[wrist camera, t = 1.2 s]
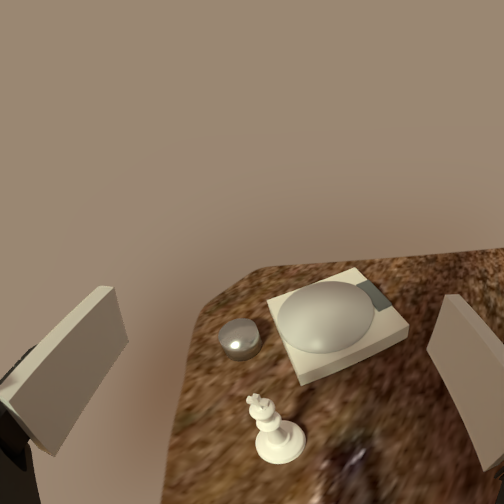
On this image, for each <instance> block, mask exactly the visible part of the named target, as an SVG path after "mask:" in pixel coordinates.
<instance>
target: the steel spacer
mask: <svg viewBox="0 0 504 504" xmlns="http://www.w3.org/2000/svg"><path fill="white" fill-rule="evenodd" d="M218 337H219V341H220V343H221V345H222V347H223V349H224V351H225V352H226V354H227V356H228V357H229V358H230V359H231V360H234V361H246V360H249V359H251V358H253V357H255V356H256V355H257V354H258V353H259V352H260V350H261V348H262V340H261V338H260V335H259V332H258V329H257V327H256V324H255V323H254V322H253V321H252V320H250V319H246V318H240V319H235V320H232V321H230V322H228V323H227V324H225V325H224V326H223V327H222V328H221V330H220V332H219V336H218Z"/></svg>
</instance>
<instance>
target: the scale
mask: <svg viewBox="0 0 504 504" xmlns="http://www.w3.org/2000/svg"><path fill="white" fill-rule="evenodd" d="M267 303H268V306H269V309H270V312H271V315H272V317H273V320H274V322H275V325H276V327H277V329H278V332H279V334H280V337H281V339H282V341H283V344H284V346H285V349H286V351H287V353H288V356H289V358H290V361H291V363H292V365H293V368H294V370H295V372H296V375H297V377H298V380H299V382H300V384H301V386H302V385H305V384H308V383H310V382H313V381H316V380H318V379H321V378H323V377H325V376H328V375H330V374H333V373H335V372H337V371H340V370H342V369H344V368H347V367H349V366H351V365H353V364H355V363H358V362H360V361H362V360H364V359H366V358H368V357H370V356H372V355H374V354H376V353H378V352H380V351H382V350H384V349H386V348H388V347H390V346H392V345H394V344H396V343H398V342H400V341H402V340H403V339H405V338H407V337H408V331H409V324H408V323H407V322H406V321H405V320H404V318H403V317H402V316H401V315H400V314H399V313H398V312H397V311H396V310H395V309H394V308H393V306H392V304H391V302H390V301H389V300H388V299H387V298H386V297H385V296H384V295H383V294H382V293H381V292H380V291H379V290H378V289H377V288H376V287H375V286H374V285H373V284H372V283H371V282H370V281H369V280H367V279H366V278H365V277H364V276H363V275H362V274H361V273H360V272H359V271H358V270H357V269H356V268H352V269H350V270H347V271H345V272H342V273H340V274H337V275H334V276H332V277H329V278H327V279H324V280H321V281H319V282H316V283H313V284H311V285H308V286H305V287H303V288H300V289H297V290H295V291H292V292H289V293H286V294H283V295H281V296H278V297H275V298H272V299H269V300H267Z"/></svg>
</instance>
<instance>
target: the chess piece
mask: <svg viewBox="0 0 504 504" xmlns="http://www.w3.org/2000/svg"><path fill="white" fill-rule="evenodd" d="M246 402H247V403H248V404H251V406H250V409H249V412H250V415H251V416H252V417H253V418H254V419H256V425H257V427H258V428H259V429H260V432H259V433H258V435H257V437H256V449H257V452H258V454H259V455H260V456H261V457H262V458H263V459H264V460H265V461H267V462H270V463H274V464H284V463H288V462H290V461H292V460H294V459H296V458H297V457H298V456H299V455H300V454H301V453H302V451H303V450H304V447H305V443H306V438H305V434H304V432H303V431H302V429H301V428H300V427H299V426H298V425H297V424H295V423H293V422H290V421H286V420H281V416H280V414H279V413H277V412H276V411H275V405H274V403H273V401H271V400H270V399H267V398H261V397H260V395H259V394H254V393H253V396H252V397H250V396H248V397H247V400H246Z"/></svg>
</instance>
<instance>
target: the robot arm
mask: <svg viewBox="0 0 504 504" xmlns="http://www.w3.org/2000/svg"><path fill="white" fill-rule="evenodd" d="M128 342H129V341H128V337H127V334H126V331H125V327H124V324H123V320H122V316H121V313H120V309H119V305H118V301H117V297H116V293H115V289H114V287H108V286H99V287H97V288H96V289H95V290H94V291H93V292H92V293H91V294H90V295H89V296H87V297H86V298H85V299H84V300H83V301H82V302H81V303H80V304H79V305H78V306H77V307H76V308H75V309H73V310H72V311H71V312H70V313H69V314H68V315H67V316H66V317H65V318H64V319H63V320H62V321H61V322H60V323H59V324H58V325H57V326H56V327H55V328H54V329H53V330H52V331H51V332H50V333H49V334H48V335H47V336H46V337H45V338H44V339H43V340H42V341H41V342H40V343H39V344H37V345H35V346H34V347H32V348H31V349H29V350H28V351H27V352H26V353H25V354H24V355H23V356H22V357H21V360H18V362H17V363H16V364H15V366H14V367H12V368H11V369H10V370H9V371H8V373H6V375H5V376H4V377H3V378H2V379H1V380H0V504H41V502H40V498H39V493H38V488H37V483H36V478H35V473H34V467H33V460H32V453H31V448H30V445H29V444H28V443H27V442H28V441H29V439H31V440H32V441H33V442H34V443H35V444H36V446H38V448H39V449H41V450H43V451H44V452H46V453H48V454H49V455H51V456H53V457H55V456H56V454H57V452H58V451H59V449H60V447H61V445H62V444H63V442H64V441H65V439H66V437H67V436H68V434H69V432H70V431H71V429H72V427H73V426H74V424H75V423H76V421H77V419H78V418H79V416H80V414H81V413H82V411H83V410H84V408H85V407H86V405H87V403H88V402H89V400H90V399H91V397H92V396H93V394H94V393H95V391H96V389H97V388H98V386H99V385H100V383H101V382H102V380H103V379H104V377H105V376H106V374H107V373H108V371H109V370H110V368H111V367H112V365H113V364H114V362H115V361H116V359H117V358H118V356H119V355H120V354H121V352H122V351H123V349H124V348H125V346H126V345H127V343H128ZM426 350H427V352H428V353H429V355H430V357H431V359H432V361H433V362H434V364H435V366H436V368H437V370H438V372H439V374H440V375H441V377H442V379H443V381H444V383H445V385H446V387H447V389H448V391H449V393H450V395H451V397H452V399H453V401H454V403H455V405H456V407H457V409H458V411H459V414H460V416H461V418H462V420H463V422H464V425H465V427H466V429H467V431H468V434H469V436H470V438H471V441H472V443H473V446H474V448H475V450H476V453H477V456H478V458H479V461H480V463H481V466H482V469H483V472H485V471H487V470H489V469H491V468H493V467H495V466H497V465H499V464H500V463H501V462H502V461H503V460H504V345H503V343H502V342H501V341H500V340H499V338H498V337H497V336H496V335H495V334H494V332H493V331H492V330H491V329H490V328H489V327H488V325H487V324H486V323H485V322H484V321H483V320H482V319H481V318H480V316H479V315H478V314H477V313H476V312H475V311H474V310H473V309H472V308H471V306H470V305H469V304H468V303H467V302H466V301H465V300H464V299H463V298H462V297H461V296H460V295H459V294H451V295H445V296H444V300H443V303H442V306H441V310H440V313H439V316H438V319H437V322H436V325H435V327H434V330H433V333H432V336H431V339H430V341H429V344H428V346H427V349H426ZM503 472H504V466H503V467H502V468H501V469H500V470H499V471H498V472H497V473H496V474H495V476H494V478H495V479H496V478H497V477H498V476H500V475H501V474H502V473H503ZM499 480H502V484H501V488H500V491H499V494H498V497H497V500H496V503H495V504H504V474H503V475H502V476H501V477H500V478H499Z"/></svg>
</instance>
